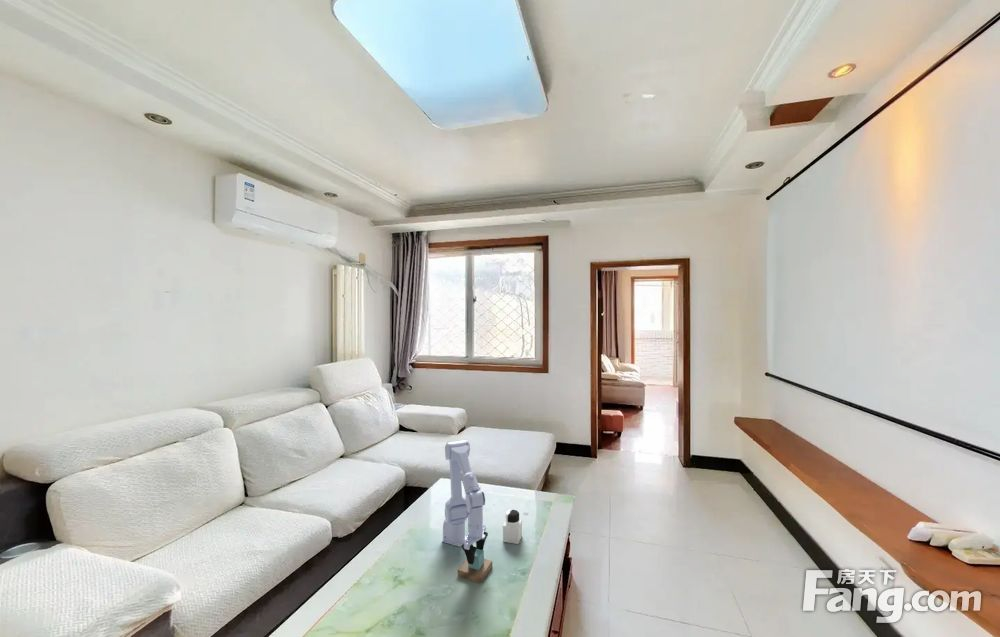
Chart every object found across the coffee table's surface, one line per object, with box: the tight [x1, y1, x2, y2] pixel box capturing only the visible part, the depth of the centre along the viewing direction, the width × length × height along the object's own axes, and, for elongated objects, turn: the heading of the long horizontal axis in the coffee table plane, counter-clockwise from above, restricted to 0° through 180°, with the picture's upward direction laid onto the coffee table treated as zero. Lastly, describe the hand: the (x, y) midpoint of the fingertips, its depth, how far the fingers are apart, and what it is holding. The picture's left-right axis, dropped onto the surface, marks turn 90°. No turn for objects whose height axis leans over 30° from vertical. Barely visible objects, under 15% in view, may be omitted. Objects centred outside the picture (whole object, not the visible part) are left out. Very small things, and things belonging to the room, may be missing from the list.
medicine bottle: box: [502, 509, 523, 545], centre depth 170 cm, size 7×7×12 cm
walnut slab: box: [457, 558, 493, 584], centre depth 148 cm, size 10×10×3 cm
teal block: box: [468, 549, 485, 570], centre depth 148 cm, size 4×4×5 cm
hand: (475, 557), depth 148 cm, fingers open, 7 cm apart
